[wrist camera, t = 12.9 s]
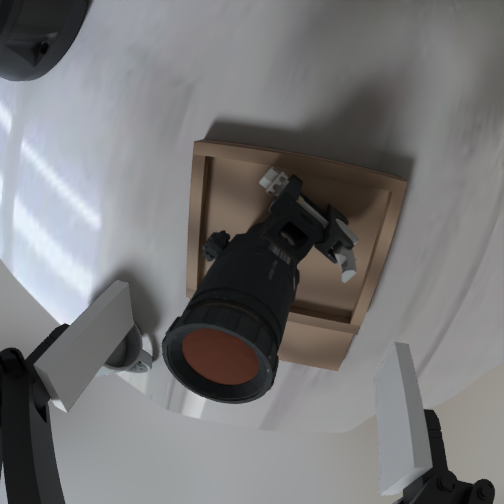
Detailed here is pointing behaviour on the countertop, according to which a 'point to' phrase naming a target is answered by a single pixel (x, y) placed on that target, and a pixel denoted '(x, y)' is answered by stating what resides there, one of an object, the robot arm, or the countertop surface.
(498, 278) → the countertop surface
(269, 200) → the wooden tray
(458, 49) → the countertop surface
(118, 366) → the ceramic mug
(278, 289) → the scope
